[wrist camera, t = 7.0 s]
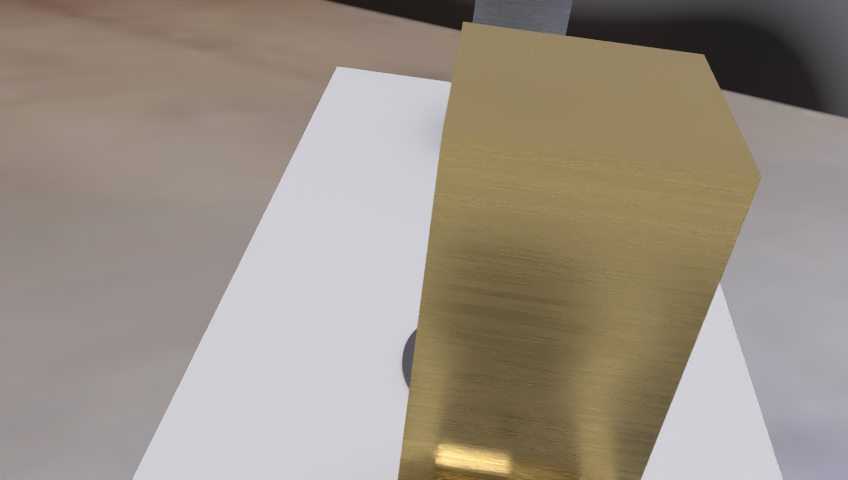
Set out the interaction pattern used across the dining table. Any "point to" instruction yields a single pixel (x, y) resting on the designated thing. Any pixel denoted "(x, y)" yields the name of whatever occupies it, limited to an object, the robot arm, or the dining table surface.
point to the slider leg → (568, 255)
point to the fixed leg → (525, 14)
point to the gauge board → (380, 320)
